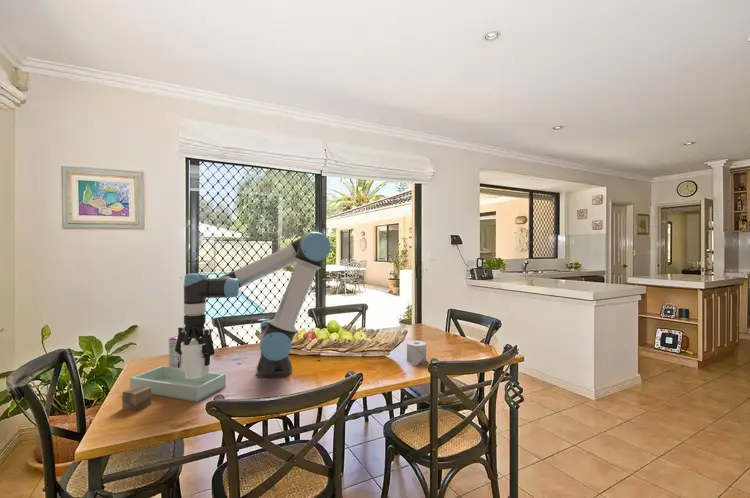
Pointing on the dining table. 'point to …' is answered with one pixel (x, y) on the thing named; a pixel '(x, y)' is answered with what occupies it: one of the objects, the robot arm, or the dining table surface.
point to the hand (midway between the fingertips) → (194, 372)
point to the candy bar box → (174, 353)
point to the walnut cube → (136, 398)
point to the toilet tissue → (416, 352)
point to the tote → (179, 383)
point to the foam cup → (192, 359)
